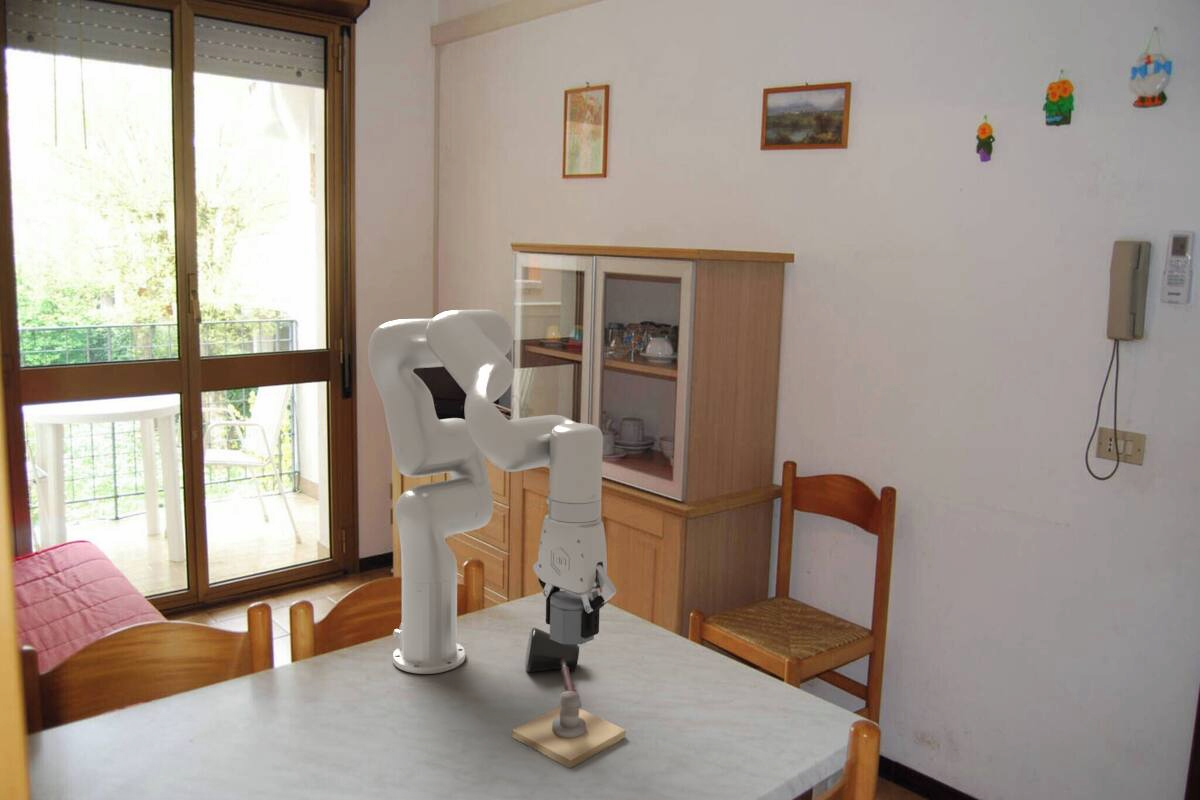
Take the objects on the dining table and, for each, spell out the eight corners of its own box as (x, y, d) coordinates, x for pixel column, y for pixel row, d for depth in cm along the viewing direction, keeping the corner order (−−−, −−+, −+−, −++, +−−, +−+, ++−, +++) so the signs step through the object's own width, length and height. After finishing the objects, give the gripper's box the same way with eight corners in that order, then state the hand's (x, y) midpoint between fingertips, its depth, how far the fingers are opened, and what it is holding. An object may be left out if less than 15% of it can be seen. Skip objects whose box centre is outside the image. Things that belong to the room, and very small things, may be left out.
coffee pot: (524, 656, 165) (571, 662, 166) (523, 717, 148) (575, 724, 148) (532, 619, 163) (579, 625, 164) (531, 677, 146) (584, 684, 146)
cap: (540, 635, 135) (541, 597, 134) (570, 623, 140) (571, 586, 139) (572, 648, 131) (573, 608, 130) (602, 635, 136) (603, 597, 135)
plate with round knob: (511, 737, 137) (512, 695, 136) (567, 709, 146) (568, 670, 145) (570, 768, 129) (571, 723, 128) (625, 737, 138) (627, 695, 137)
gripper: (514, 502, 135) (512, 619, 138) (602, 527, 124) (598, 653, 127) (550, 494, 141) (548, 606, 144) (637, 517, 130) (633, 638, 132)
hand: (572, 627), depth 135 cm, fingers closed on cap, 6 cm apart
